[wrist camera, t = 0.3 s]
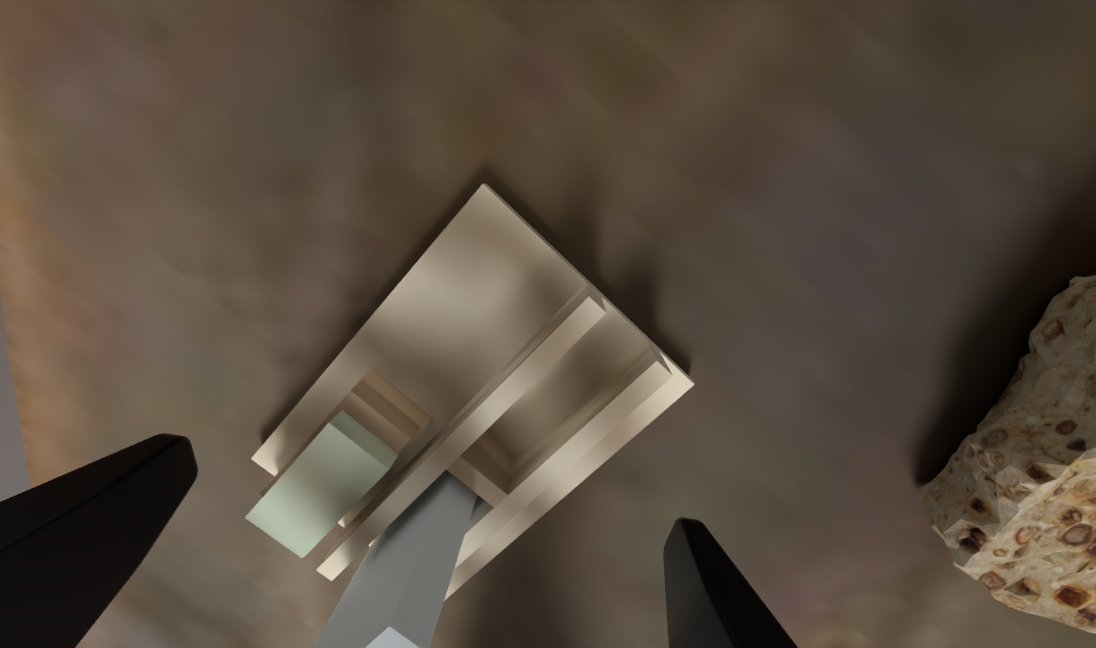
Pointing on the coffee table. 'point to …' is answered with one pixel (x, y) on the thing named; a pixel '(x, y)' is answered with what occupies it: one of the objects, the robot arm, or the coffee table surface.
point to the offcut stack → (338, 463)
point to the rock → (1032, 475)
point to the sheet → (404, 574)
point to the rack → (491, 383)
